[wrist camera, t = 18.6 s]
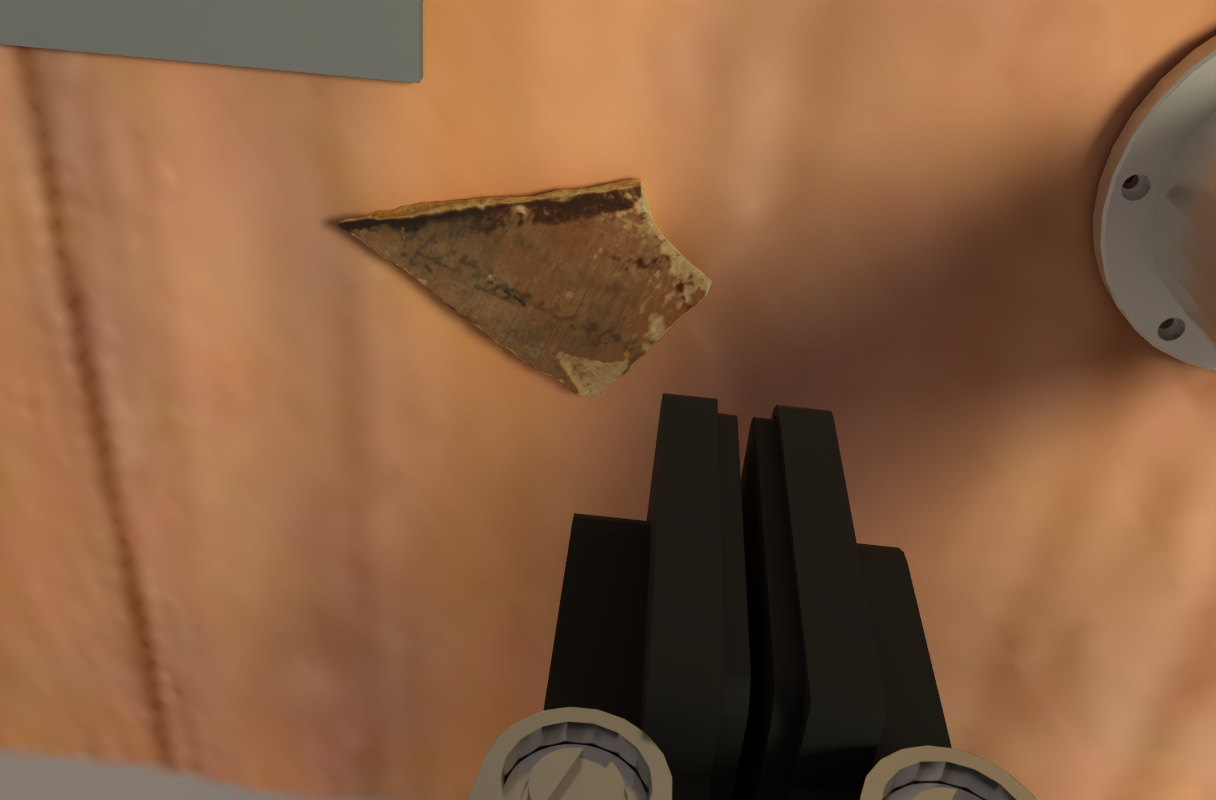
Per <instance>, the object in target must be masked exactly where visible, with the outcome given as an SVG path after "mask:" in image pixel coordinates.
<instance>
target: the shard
mask: <svg viewBox="0 0 1216 800" xmlns="http://www.w3.org/2000/svg"><path fill="white" fill-rule="evenodd" d="M338 226H339V227H341V228H342V229H344V230H346V231H348V232H349V233H350V234H352V235H353V236H355V237H357V238H358V239H360V240H361V241H362V242H364V243H365V244H366V245H367V246H368V247H369V248H372V249H373V250H374V251H375V252H377V253H378V254H379V255H380V256H381V257H384V258H385V259H386V260H388V261H390V262H392V263H393V264H395V265H397V266H399V267H401V268H403V269H404V270H405V271H407V272H408V273H409V274H410V275H411V276H413V277H414V278H416V279H417V280H418V281H419V282H420V283H422V284H423V285H424V286H425V287H427V288H429V290H431V291H432V292H433V293H434V294H435V295H437V296H438V297H440V298H441V300H442V301H443V302H444V303H445V304H447V305H448V306H449V307H450V308H451V309H452V310H453V311H455V312H456V313H458V314H459V315H460V316H462V317H464V318H465V319H467V320H468V321H469V322H471V323H472V324H474V325H475V326H477V327H478V328H479V329H480V330H481V331H482V332H483V333H484V334H485V335H486V336H488V337H489V338H491V339H492V340H493V341H495V342H496V343H498V344H499V345H500V346H502V347H505V348H507V349H509V350H510V351H511V352H513V353H514V354H515V355H516V356H517V357H518V358H519V359H520V360H522V361H524V362H525V363H527V364H529V365H530V366H532V367H533V368H535V369H537V370H538V371H540V372H541V373H543V374H544V375H549V376H552V377H554V378H556V379H557V380H559V381H560V382H562V383H563V385H565V386H566V387H568V388H569V389H570V390H571V391H572V392H574V393H576V394H577V395H579V396H583V397H591V398H592V397H594V396H595V395H597V394H599V393H601V392H602V391H603V390H604V389H605V388H606V387H607V386H609V385H611V384H612V383H613V382H614V381H615V380H617V379H619V378H621V377H622V376H623V375H625V374H626V373H627V372H628V371H629V369H630V368H631V367H632V366H633V365H634V364H635V363H636V362H637V361H638V360H639V359H640V358H641V357H642V356H643V355H644V354H645V353H646V352H647V350H648V348H649V347H650V346H651V345H652V344H654V343H655V342H657V341H658V340H659V338H660V337H661V336H662V335H664V334H665V333H666V332H667V330H668V329H669V328H670V327H671V326H672V325H673V324H674V323H675V322H676V321H677V320H678V319H679V318H680V317H682V316H683V315H685V314H686V313H688V312H689V311H691V310H692V309H693V308H694V307H695V306H696V305H697V304H699V303H700V302H701V301H702V300H703V299H704V298H705V297H706V296H707V294H708V291H709V288H710V287H711V285H712V282H711V280H710V279H709V278H708V277H706V276H705V275H704V273H703V272H702V271H700V270H699V269H698V268H696V267H695V266H694V265H692V264H691V263H690V262H689V261H688V260H687V259H686V258H685V257H684V256H683V255H682V254H681V253H680V252H679V251H678V250H677V249H676V248H675V247H674V246H673V245H672V244H671V243H670V242H669V241H668V240H667V239H666V238H665V237H664V236H663V235H662V233H661V232H660V230H659V228H658V227H657V225H656V224H655V222H654V221H653V219H652V216H651V212H650V209H649V205H648V202H647V200H646V198H645V193H644V189H643V187H642V184H641V181H640V179H639V178H637V179H625V180H621V181H618V182H614V183H607V184H604V185H600V186H594V187H590V188H580V189H574V190H573V189H559V190H556V191H552V192H548V193H544V194H540V195H537V196H527V197H484V198H473V199H468V200H463V199H459V200H449V201H445V202H440V201H434V202H420V203H416V204H411V205H406V206H400V207H398V208H396V209H392V210H385V211H384V210H380V211H377V212H375V213H372V214H369V215H367V216H364V217H358V218H350V219H346V220H343V221H340V222H338Z"/></svg>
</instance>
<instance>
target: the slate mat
mask: <svg viewBox="0 0 1216 800" xmlns="http://www.w3.org/2000/svg"><path fill="white" fill-rule="evenodd" d="M0 44H3V45H14V46H25V47H35V48H46V49H57V50H68V51H78V52H89V53H100V54H111V55H121V56H132V57H143V58H154V59H164V60H175V61H186V62H197V63H208V64H218V65H229V66H240V67H251V68H261V69H272V70H283V71H294V72H304V73H315V74H326V75H337V76H347V77H358V78H369V79H380V80H390V81H401V82H412V83H420V81H421V80H422V78H423V0H0Z"/></svg>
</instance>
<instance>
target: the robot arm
mask: <svg viewBox="0 0 1216 800" xmlns="http://www.w3.org/2000/svg"><path fill="white" fill-rule="evenodd" d="M1132 175H1134V177H1133V179H1132V180H1131V181H1130V182H1128V183H1125V184H1123V183H1124V182H1125V180H1126V179H1128V178H1129V177H1131V176H1132ZM1093 239H1094V253H1095V257H1096V260H1097V264H1098V267H1099V271H1100V275H1101V278H1102V281H1103V283H1104V285H1105V287H1106V289H1107V290H1108V292H1109V294H1110V296H1111V297H1112V299H1113V301H1114V303H1115V305H1116V306H1117V308H1118V309H1119V310H1120V312H1121V313H1122V314H1123V315H1124V317H1125V318H1126V319H1127V320H1128V322H1129V323H1130V324H1131V326H1132V327H1133V328H1134V330H1135V331H1137V332H1138V333H1139V334H1140V335H1141V336H1142V337H1143V338H1145V339H1146V340H1147V341H1148V342H1149V343H1150V344H1151V345H1153V346H1154V347H1155V348H1157V349H1159V350H1160V351H1162V352H1164V353H1166V354H1168V355H1170V356H1172V357H1174V358H1176V359H1178V360H1180V361H1182V362H1184V363H1186V364H1190V365H1193V366H1197V367H1200V368H1204V369H1208V370H1211V371H1215V372H1216V35H1215V36H1214V37H1212V38H1211V39H1209V40H1208V41H1206V42H1205V43H1203V44H1202V45H1200V46H1198V47H1197V48H1195V49H1194V50H1193V51H1192V52H1191V53H1190V54H1188V55H1187V56H1186V57H1185V58H1184V59H1183V60H1182V61H1181V62H1179V63H1178V64H1177V65H1176V66H1175V67H1174V68H1173V69H1172V70H1170V71H1169V72H1168V73H1167V74H1166V75H1165V76H1164V77H1163V78H1161V79H1160V81H1159V82H1158V83H1157V84H1156V85H1155V87H1154V88H1153V89H1152V90H1151V91H1150V93H1149V94H1148V95H1147V96H1146V97H1145V99H1144V100H1143V101H1142V102H1141V103H1140V105H1139V106H1138V107H1137V108H1136V109H1135V111H1134V112H1133V113H1132V115H1131V117H1130V118H1129V120H1128V122H1127V123H1126V125H1125V127H1124V129H1123V130H1122V132H1121V134H1120V135H1119V137H1118V139H1117V140H1116V142H1115V144H1114V145H1113V147H1112V149H1111V152H1110V155H1109V157H1108V160H1107V163H1106V165H1105V168H1104V171H1103V173H1102V176H1101V179H1100V181H1099V184H1098V190H1097V196H1096V202H1095V208H1094V213H1093ZM468 800H1036V798H1035V797H1034V795H1033V794H1032V793H1030V792H1029V791H1028V790H1027V789H1026V788H1025V787H1024V786H1023V785H1022V784H1021V783H1020V782H1019V781H1018V780H1016V779H1015V778H1014V777H1013V776H1012V775H1011V774H1009V773H1008V772H1006V771H1004V770H1003V769H1001V768H999V767H998V766H996V765H994V764H993V763H991V762H989V761H987V760H986V759H984V758H981V757H978V756H975V755H972V754H970V753H967V752H964V751H961V750H958V749H954V748H952V747H951V743H950V739H949V735H948V731H947V727H946V722H945V718H944V714H943V710H942V706H941V701H940V697H939V693H938V689H937V685H936V680H935V676H934V672H933V668H932V664H931V660H930V655H929V651H928V647H927V643H926V639H925V634H924V630H923V626H922V622H921V618H920V613H919V609H918V605H917V601H916V597H915V593H914V588H913V584H912V580H911V576H910V572H909V567H908V563H907V560H906V558H905V555H904V552H903V551H902V550H901V549H899V548H895V547H886V546H877V545H867V544H858V543H856V537H855V532H854V526H853V521H852V516H851V510H850V505H849V499H848V494H847V489H846V483H845V478H844V472H843V467H842V461H841V456H840V451H839V445H838V440H837V434H836V429H835V424H834V418H833V415H832V412H831V411H827V410H818V409H808V408H798V407H789V406H779V405H776V406H775V408H774V410H773V413H772V417H771V419H766V418H756V417H753V419H752V422H751V426H750V431H749V436H748V442H747V448H746V454H745V459H744V465H743V471H742V477H741V478H740V458H739V439H738V420H737V416H736V415H728V414H718V404H717V399H712V398H703V397H693V396H684V395H674V394H664V393H663V396H662V402H661V409H660V417H659V425H658V433H657V441H656V450H655V458H654V466H653V474H652V482H651V490H650V498H649V506H648V514H647V521H641V520H632V519H622V518H613V517H603V516H594V515H584V514H575V513H574V517H573V522H572V528H571V535H570V541H569V548H568V555H567V561H566V568H565V574H564V581H563V587H562V594H561V600H560V607H559V613H558V620H557V627H556V633H555V640H554V646H553V653H552V659H551V666H550V672H549V679H548V686H547V692H546V699H545V705H544V710H543V711H540V712H538V713H536V714H533V715H531V716H528V717H526V718H523V719H521V720H519V721H517V722H516V723H514V724H513V725H512V726H511V727H509V728H508V729H507V730H506V731H504V732H503V733H502V734H501V735H500V736H498V737H497V739H496V740H495V742H494V743H493V745H492V747H491V748H490V750H489V751H488V753H487V755H486V756H485V758H484V760H483V762H482V765H481V767H480V770H479V772H478V775H477V777H476V780H475V782H474V785H473V787H472V790H471V792H470V795H469V797H468Z"/></svg>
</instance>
